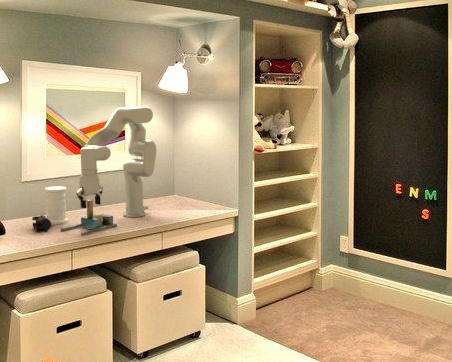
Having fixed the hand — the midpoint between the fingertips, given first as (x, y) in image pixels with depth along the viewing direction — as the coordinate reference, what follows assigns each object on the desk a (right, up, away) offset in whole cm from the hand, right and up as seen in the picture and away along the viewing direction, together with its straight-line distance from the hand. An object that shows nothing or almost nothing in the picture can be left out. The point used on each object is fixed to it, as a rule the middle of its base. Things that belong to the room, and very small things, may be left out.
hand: (90, 206), depth 282 cm
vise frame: (-1, -11, +1) cm, 11 cm away
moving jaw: (0, -11, +1) cm, 11 cm away
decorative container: (-21, -9, +14) cm, 27 cm away
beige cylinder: (+2, -11, +5) cm, 12 cm away
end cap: (-23, -12, -3) cm, 26 cm away
